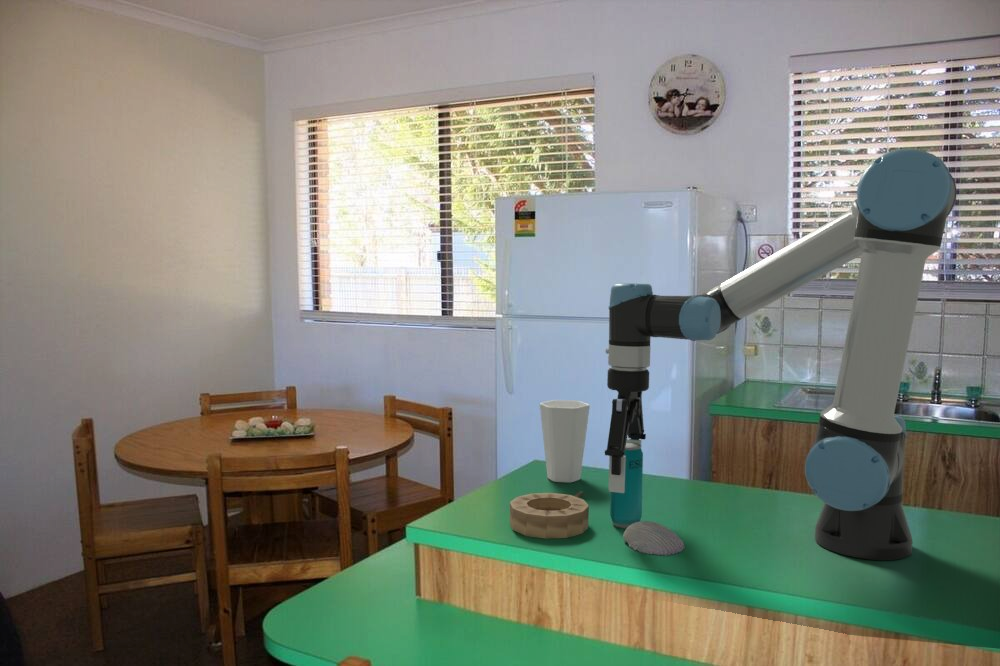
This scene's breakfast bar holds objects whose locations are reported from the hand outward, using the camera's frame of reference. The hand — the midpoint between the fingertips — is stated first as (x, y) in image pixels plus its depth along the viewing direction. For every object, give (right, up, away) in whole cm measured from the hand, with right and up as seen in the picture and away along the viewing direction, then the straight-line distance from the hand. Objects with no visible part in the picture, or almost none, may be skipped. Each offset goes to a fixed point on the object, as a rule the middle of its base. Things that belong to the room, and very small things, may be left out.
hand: (625, 482), depth 142 cm
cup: (-9, -6, +32) cm, 34 cm away
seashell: (+3, -9, -10) cm, 14 cm away
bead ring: (-14, -8, 0) cm, 16 cm away
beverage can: (0, -8, +1) cm, 8 cm away
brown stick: (-9, -7, +13) cm, 17 cm away
